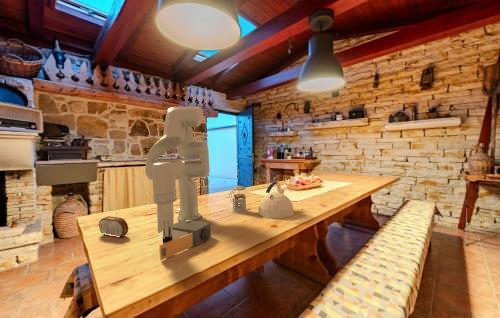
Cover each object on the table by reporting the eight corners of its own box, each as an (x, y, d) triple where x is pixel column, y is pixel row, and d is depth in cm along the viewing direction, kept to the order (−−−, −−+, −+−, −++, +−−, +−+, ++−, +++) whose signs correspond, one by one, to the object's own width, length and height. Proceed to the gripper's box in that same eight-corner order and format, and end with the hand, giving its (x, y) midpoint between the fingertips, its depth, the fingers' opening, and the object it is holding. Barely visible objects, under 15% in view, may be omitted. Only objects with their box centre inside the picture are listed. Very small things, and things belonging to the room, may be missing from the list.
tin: (129, 236, 93) (128, 217, 93) (123, 239, 90) (121, 220, 90) (104, 233, 98) (103, 215, 97) (98, 235, 95) (96, 217, 95)
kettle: (299, 210, 124) (298, 180, 123) (285, 221, 106) (284, 185, 105) (268, 206, 134) (267, 178, 134) (251, 215, 117) (250, 183, 116)
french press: (241, 214, 119) (240, 170, 117) (225, 212, 125) (224, 170, 124) (251, 210, 127) (249, 168, 126) (235, 207, 133) (234, 168, 132)
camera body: (168, 241, 86) (167, 225, 86) (185, 232, 95) (184, 217, 95) (198, 247, 80) (197, 230, 80) (213, 237, 89) (212, 221, 89)
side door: (162, 260, 70) (161, 246, 70) (160, 259, 71) (159, 244, 71) (194, 246, 80) (194, 233, 80) (192, 245, 81) (191, 232, 81)
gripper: (154, 193, 80) (157, 240, 81) (151, 204, 66) (155, 260, 67) (175, 191, 83) (178, 237, 84) (177, 201, 69) (179, 255, 70)
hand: (168, 247), depth 76 cm, fingers closed
